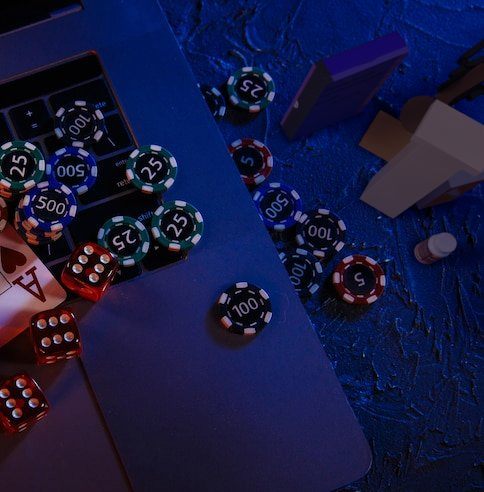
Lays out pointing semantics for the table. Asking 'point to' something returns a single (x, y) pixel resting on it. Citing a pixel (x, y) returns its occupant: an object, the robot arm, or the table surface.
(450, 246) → the pill bottle
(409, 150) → the stand
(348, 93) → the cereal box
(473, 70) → the paddle
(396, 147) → the mat
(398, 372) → the table surface
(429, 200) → the small box
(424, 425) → the table surface
